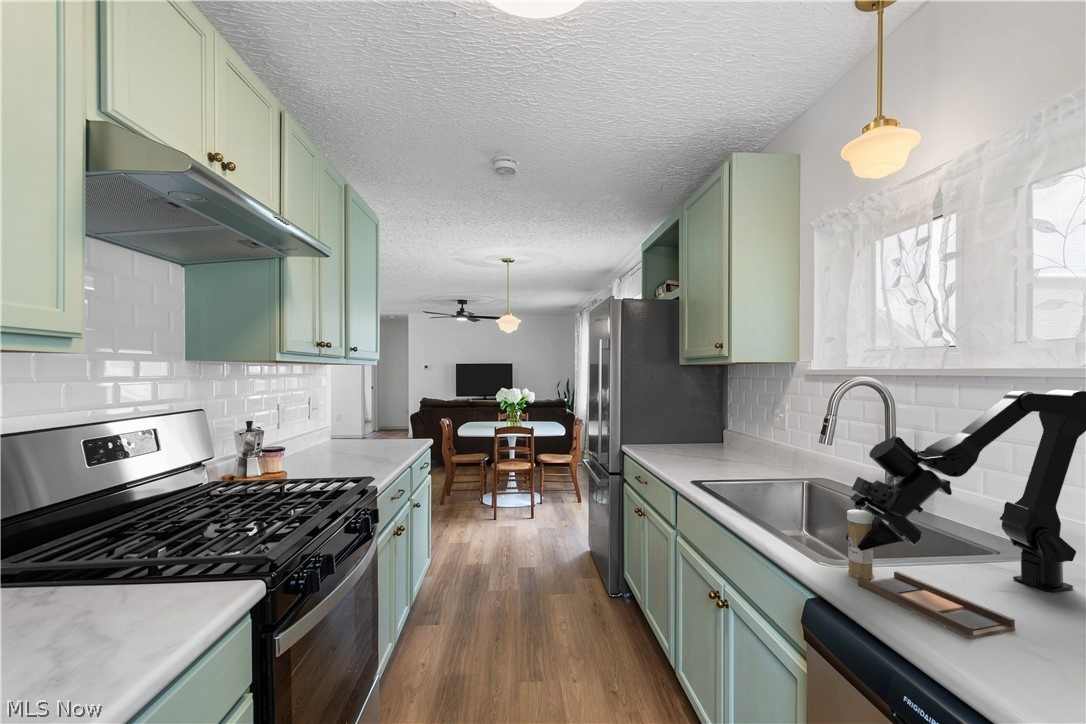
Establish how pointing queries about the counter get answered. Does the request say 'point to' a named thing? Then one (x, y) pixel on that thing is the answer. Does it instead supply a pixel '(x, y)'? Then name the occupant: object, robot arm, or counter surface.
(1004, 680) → the counter surface
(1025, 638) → the counter surface
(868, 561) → the sprinkles bottle
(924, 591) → the board
